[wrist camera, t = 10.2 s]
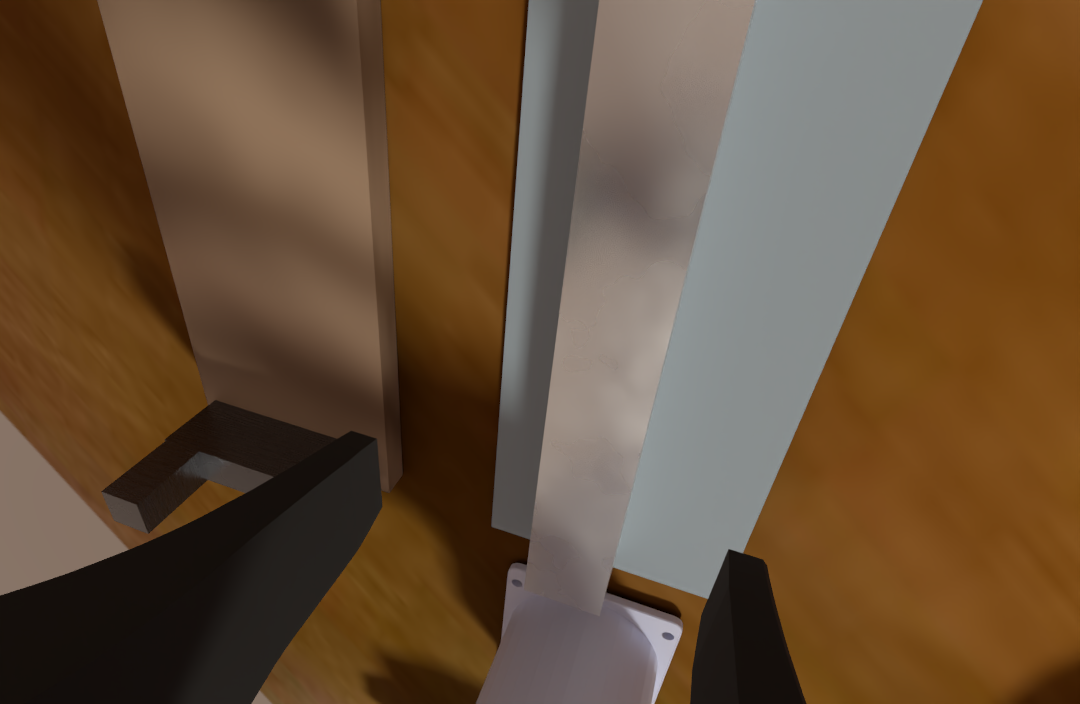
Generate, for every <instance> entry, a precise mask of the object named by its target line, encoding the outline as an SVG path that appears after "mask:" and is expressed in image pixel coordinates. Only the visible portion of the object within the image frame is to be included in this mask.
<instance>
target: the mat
mask: <svg viewBox="0 0 1080 704" xmlns="http://www.w3.org/2000/svg"><path fill="white" fill-rule="evenodd" d="M982 1H983V0H758V1H757V4H756V8H755V12H754V16H753V20H752V24H751V28H750V32H749V36H748V40H747V44H746V48H745V52H744V56H743V59H742V63H741V67H740V71H739V75H738V79H737V83H736V87H735V91H734V95H733V99H732V103H731V107H730V111H729V114H728V118H727V122H726V126H725V130H724V134H723V138H722V142H721V146H720V150H719V154H718V158H717V162H716V165H715V169H714V173H713V177H712V181H711V185H710V189H709V193H708V197H707V201H706V205H705V209H704V213H703V217H702V220H701V224H700V228H699V232H698V236H697V240H696V244H695V248H694V252H693V256H692V260H691V264H690V268H689V272H688V275H687V279H686V283H685V287H684V291H683V295H682V299H681V303H680V307H679V311H678V315H677V319H676V323H675V327H674V330H673V334H672V338H671V342H670V346H669V350H668V354H667V358H666V362H665V366H664V370H663V374H662V378H661V381H660V385H659V389H658V393H657V397H656V401H655V405H654V409H653V413H652V417H651V421H650V425H649V429H648V433H647V436H646V440H645V444H644V448H643V452H642V456H641V460H640V464H639V468H638V472H637V476H636V480H635V484H634V488H633V491H632V495H631V499H630V503H629V507H628V511H627V515H626V519H625V523H624V527H623V531H622V535H621V539H620V543H619V546H618V550H617V554H616V558H615V562H614V565H613V567H614V568H617V569H620V570H623V571H626V572H629V573H632V574H635V575H638V576H641V577H644V578H647V579H650V580H653V581H656V582H659V583H662V584H665V585H668V586H671V587H674V588H677V589H680V590H683V591H686V592H689V593H692V594H695V595H698V596H701V597H704V598H707V599H708V598H709V595H710V593H711V590H712V588H713V586H714V583H715V581H716V578H717V576H718V573H719V571H720V569H721V566H722V564H723V561H724V559H725V556H726V554H727V552H728V549H731V550H734V551H737V552H740V553H743V551H744V549H745V546H746V544H747V542H748V539H749V537H750V535H751V533H752V530H753V528H754V526H755V523H756V521H757V519H758V516H759V514H760V512H761V510H762V507H763V505H764V503H765V500H766V498H767V496H768V493H769V491H770V489H771V487H772V484H773V482H774V480H775V477H776V475H777V473H778V470H779V468H780V466H781V464H782V461H783V459H784V457H785V454H786V452H787V450H788V447H789V445H790V443H791V441H792V438H793V436H794V434H795V431H796V429H797V427H798V424H799V422H800V420H801V418H802V415H803V413H804V411H805V408H806V406H807V404H808V401H809V399H810V397H811V395H812V392H813V390H814V388H815V385H816V383H817V381H818V378H819V376H820V374H821V372H822V369H823V367H824V365H825V362H826V360H827V358H828V355H829V353H830V351H831V349H832V346H833V344H834V342H835V339H836V337H837V335H838V332H839V330H840V328H841V326H842V323H843V321H844V319H845V316H846V314H847V312H848V309H849V307H850V305H851V303H852V300H853V298H854V296H855V293H856V291H857V289H858V286H859V284H860V282H861V280H862V277H863V275H864V273H865V270H866V268H867V266H868V263H869V261H870V259H871V257H872V254H873V252H874V250H875V247H876V245H877V243H878V240H879V238H880V236H881V234H882V231H883V229H884V227H885V224H886V222H887V220H888V217H889V215H890V213H891V211H892V208H893V206H894V204H895V201H896V199H897V197H898V194H899V192H900V190H901V188H902V185H903V183H904V181H905V178H906V176H907V174H908V171H909V169H910V167H911V165H912V162H913V160H914V158H915V155H916V153H917V151H918V148H919V146H920V144H921V142H922V139H923V137H924V135H925V132H926V130H927V128H928V125H929V123H930V121H931V119H932V116H933V114H934V112H935V109H936V107H937V105H938V102H939V100H940V98H941V96H942V93H943V91H944V89H945V86H946V84H947V82H948V79H949V77H950V75H951V73H952V70H953V68H954V66H955V63H956V61H957V59H958V56H959V54H960V52H961V50H962V47H963V45H964V43H965V40H966V38H967V36H968V33H969V31H970V29H971V27H972V24H973V22H974V20H975V17H976V15H977V13H978V10H979V8H980V6H981V4H982ZM598 6H599V0H529V7H528V21H527V35H526V49H525V63H524V77H523V91H522V105H521V119H520V133H519V147H518V161H517V175H516V189H515V203H514V217H513V231H512V245H511V259H510V273H509V287H508V301H507V315H506V329H505V342H504V356H503V370H502V384H501V398H500V412H499V426H498V440H497V454H496V468H495V482H494V496H493V510H492V524H491V527H494V528H497V529H500V530H503V531H506V532H509V533H512V534H515V535H518V536H521V537H524V538H527V539H530V538H531V530H532V522H533V514H534V506H535V499H536V491H537V483H538V475H539V467H540V459H541V452H542V444H543V436H544V428H545V420H546V413H547V405H548V397H549V389H550V381H551V373H552V366H553V358H554V350H555V342H556V334H557V327H558V319H559V311H560V303H561V295H562V287H563V280H564V272H565V264H566V256H567V248H568V241H569V233H570V225H571V217H572V209H573V201H574V194H575V186H576V178H577V170H578V162H579V155H580V147H581V139H582V131H583V123H584V115H585V108H586V100H587V92H588V84H589V76H590V69H591V61H592V53H593V45H594V37H595V29H596V22H597V14H598Z"/></svg>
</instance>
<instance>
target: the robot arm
mask: <svg viewBox="0 0 1080 704" xmlns="http://www.w3.org/2000/svg"><path fill="white" fill-rule="evenodd" d="M381 508H382V496H381V483H380V470H379V457H378V444H377V439H376V438H373V437H370V436H367V435H364V434H360V433H357V432H354V431H350V432H348V433H346V434H345V435H343V436H341V437H340V438H338V439H336V440H335V441H333V442H331V443H330V444H328V445H326V446H325V447H323V448H321V449H320V450H318V451H316V452H315V453H313V454H311V455H310V456H308V457H306V458H305V459H303V460H301V461H300V462H298V463H297V464H295V465H293V466H292V467H290V468H288V469H287V470H285V471H283V472H281V473H280V474H278V475H276V476H275V477H273V478H271V479H269V480H268V481H266V482H264V483H263V484H261V485H259V486H257V487H256V488H254V489H252V490H251V491H249V492H247V493H245V494H243V495H242V496H240V497H238V498H236V499H234V500H232V501H230V502H228V503H227V504H225V505H223V506H221V507H219V508H217V509H215V510H213V511H212V512H210V513H208V514H206V515H204V516H202V517H200V518H198V519H196V520H194V521H192V522H190V523H188V524H186V525H184V526H182V527H180V528H178V529H175V530H173V531H171V532H169V533H167V534H164V535H162V536H160V537H158V538H155V539H153V540H151V541H149V542H147V543H144V544H142V545H140V546H137V547H135V548H133V549H130V550H127V551H125V552H122V553H120V554H117V555H115V556H112V557H110V558H107V559H104V560H102V561H99V562H97V563H94V564H92V565H89V566H86V567H84V568H81V569H79V570H76V571H73V572H70V573H68V574H65V575H62V576H59V577H56V578H53V579H50V580H47V581H45V582H41V583H38V584H35V585H32V586H29V587H26V588H23V589H20V590H16V591H13V592H10V593H8V594H4V595H1V596H0V704H251V703H252V702H253V700H254V698H255V696H256V695H257V693H258V692H259V690H260V688H261V687H262V685H263V683H264V682H265V680H266V679H267V677H268V675H269V674H270V672H271V670H272V669H273V667H274V665H275V664H276V662H277V661H278V659H279V658H280V656H281V655H282V653H283V652H284V650H285V649H286V647H287V646H288V644H289V643H290V642H291V640H292V639H293V637H294V636H295V635H296V633H297V632H298V631H299V629H300V628H301V627H302V625H303V624H304V623H305V621H306V620H307V619H308V617H309V616H310V615H311V613H312V612H313V610H314V609H315V608H316V606H317V605H318V604H319V602H320V601H321V600H322V598H323V597H324V596H325V594H326V593H327V592H328V590H329V589H330V588H331V586H332V585H333V584H334V582H335V581H336V579H337V578H338V577H339V575H340V574H341V573H342V571H343V570H344V568H345V567H346V566H347V564H348V563H349V562H350V560H351V559H352V557H353V556H354V555H355V553H356V552H357V550H358V549H359V547H360V545H361V544H362V542H363V540H364V539H365V537H366V535H367V533H368V532H369V530H370V528H371V526H372V524H373V523H374V521H375V519H376V517H377V515H378V513H379V512H380V510H381ZM526 569H527V565H524V564H522V563H513V564H511V566H510V568H509V571H508V576H507V586H506V595H505V605H504V615H503V625H502V635H501V643H500V646H499V648H498V650H497V653H496V655H495V658H494V660H493V663H492V665H491V668H490V670H489V672H488V675H487V677H486V680H485V682H484V685H483V687H482V690H481V692H480V694H479V697H478V699H477V702H476V704H654V703H655V700H656V698H657V695H658V693H659V690H660V688H661V685H662V683H663V680H664V677H665V675H666V672H667V670H668V667H669V665H670V662H671V660H672V657H673V655H674V652H675V649H676V647H677V644H678V642H679V639H680V637H681V634H682V630H683V623H682V621H681V620H680V619H679V618H678V617H676V616H673V615H670V614H668V613H665V612H662V611H659V610H656V609H653V608H650V607H647V606H644V605H641V604H638V603H635V602H633V601H630V600H627V599H624V598H621V597H618V596H615V595H612V594H609V593H606V594H605V598H604V602H603V605H602V609H601V612H600V616H597V615H594V614H591V613H588V612H585V611H583V610H580V609H577V608H574V607H571V606H568V605H566V604H563V603H560V602H557V601H554V600H551V599H549V598H546V597H543V596H540V595H537V594H534V593H531V592H529V591H526V590H524V585H525V577H526ZM690 704H806V701H805V699H804V696H803V693H802V690H801V687H800V684H799V681H798V678H797V675H796V672H795V669H794V666H793V663H792V660H791V657H790V654H789V650H788V647H787V644H786V641H785V637H784V634H783V630H782V627H781V623H780V619H779V616H778V612H777V608H776V604H775V600H774V596H773V592H772V588H771V583H770V579H769V574H768V568H767V565H766V564H765V562H764V561H763V560H762V559H759V558H756V557H753V556H750V555H746V554H743V553H740V552H737V551H734V550H731V549H728V552H727V554H726V556H725V559H724V561H723V564H722V566H721V569H720V571H719V573H718V576H717V578H716V581H715V583H714V586H713V588H712V590H711V593H710V595H709V598H708V600H707V603H706V605H705V607H704V610H703V612H702V615H701V621H700V627H699V633H698V638H697V644H696V651H695V657H694V663H693V669H692V685H691V701H690Z"/></svg>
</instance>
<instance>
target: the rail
mask: <svg viewBox="0 0 1080 704" xmlns="http://www.w3.org/2000/svg"><path fill="white" fill-rule="evenodd" d="M757 1H758V0H599V6H598V14H597V22H596V29H595V37H594V45H593V53H592V61H591V69H590V76H589V84H588V92H587V100H586V108H585V115H584V123H583V131H582V139H581V147H580V155H579V162H578V170H577V178H576V186H575V194H574V201H573V209H572V217H571V225H570V233H569V241H568V248H567V256H566V264H565V272H564V280H563V287H562V295H561V303H560V311H559V319H558V327H557V334H556V342H555V350H554V358H553V366H552V373H551V381H550V389H549V397H548V405H547V413H546V420H545V428H544V436H543V444H542V452H541V459H540V467H539V475H538V483H537V491H536V499H535V506H534V514H533V522H532V530H531V538H530V545H529V553H528V561H527V569H526V577H525V585H524V590H526V591H529V592H531V593H534V594H537V595H540V596H543V597H546V598H549V599H551V600H554V601H557V602H560V603H563V604H566V605H568V606H571V607H574V608H577V609H580V610H583V611H585V612H588V613H591V614H594V615H597V616H600V612H601V609H602V605H603V602H604V598H605V594H606V591H607V587H608V583H609V580H610V576H611V572H612V569H613V565H614V562H615V558H616V554H617V550H618V546H619V543H620V539H621V535H622V531H623V527H624V523H625V519H626V515H627V511H628V507H629V503H630V499H631V495H632V491H633V488H634V484H635V480H636V476H637V472H638V468H639V464H640V460H641V456H642V452H643V448H644V444H645V440H646V436H647V433H648V429H649V425H650V421H651V417H652V413H653V409H654V405H655V401H656V397H657V393H658V389H659V385H660V381H661V378H662V374H663V370H664V366H665V362H666V358H667V354H668V350H669V346H670V342H671V338H672V334H673V330H674V327H675V323H676V319H677V315H678V311H679V307H680V303H681V299H682V295H683V291H684V287H685V283H686V279H687V275H688V272H689V268H690V264H691V260H692V256H693V252H694V248H695V244H696V240H697V236H698V232H699V228H700V224H701V220H702V217H703V213H704V209H705V205H706V201H707V197H708V193H709V189H710V185H711V181H712V177H713V173H714V169H715V165H716V162H717V158H718V154H719V150H720V146H721V142H722V138H723V134H724V130H725V126H726V122H727V118H728V114H729V111H730V107H731V103H732V99H733V95H734V91H735V87H736V83H737V79H738V75H739V71H740V67H741V63H742V59H743V56H744V52H745V48H746V44H747V40H748V36H749V32H750V28H751V24H752V20H753V16H754V12H755V8H756V4H757Z"/></svg>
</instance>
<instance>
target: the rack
mask: <svg viewBox="0 0 1080 704" xmlns="http://www.w3.org/2000/svg"><path fill="white" fill-rule="evenodd" d="M97 1H98V5H99V9H100V12H101V16H102V20H103V23H104V27H105V31H106V34H107V38H108V41H109V45H110V49H111V52H112V56H113V60H114V63H115V67H116V71H117V74H118V78H119V82H120V85H121V89H122V93H123V96H124V100H125V103H126V107H127V111H128V114H129V118H130V122H131V125H132V129H133V133H134V136H135V140H136V144H137V147H138V151H139V155H140V158H141V162H142V166H143V169H144V173H145V176H146V180H147V184H148V187H149V191H150V195H151V198H152V202H153V206H154V209H155V213H156V217H157V220H158V224H159V228H160V231H161V235H162V239H163V242H164V246H165V249H166V253H167V257H168V260H169V264H170V268H171V271H172V275H173V279H174V282H175V286H176V290H177V293H178V297H179V301H180V304H181V308H182V311H183V315H184V319H185V322H186V326H187V330H188V333H189V337H190V341H191V344H192V348H193V352H194V355H195V359H196V363H197V366H198V370H199V374H200V377H201V381H202V384H203V388H204V392H205V395H206V399H207V403H208V406H207V407H206V408H204V409H203V410H202V411H201V412H199V413H198V414H197V415H195V416H194V417H193V418H192V419H190V420H189V421H188V422H186V423H185V424H184V425H183V426H181V427H180V428H179V429H178V430H176V431H175V432H174V433H172V434H171V435H170V436H169V437H167V438H166V439H165V442H164V443H163V444H161V445H160V446H159V447H157V448H156V449H155V450H154V451H152V452H151V453H150V454H149V455H147V456H146V457H145V458H143V459H142V460H141V461H140V462H138V463H137V464H136V465H135V466H133V467H132V468H131V469H129V470H128V471H127V472H126V473H124V474H123V475H122V476H121V477H119V478H118V479H117V480H115V481H114V482H113V483H112V484H110V485H109V486H108V487H107V488H105V489H104V490H103V491H101V492H102V494H103V496H104V499H105V501H106V503H107V505H108V508H109V510H110V512H111V514H112V517H113V519H114V521H116V522H119V523H122V524H124V525H127V526H129V527H132V528H135V529H137V530H140V531H142V532H145V533H148V534H149V533H150V532H151V531H152V530H153V529H154V528H155V527H156V526H157V525H159V524H160V523H161V522H162V521H163V520H164V519H165V518H166V517H167V516H168V515H169V514H171V513H172V512H173V511H174V510H175V509H176V508H177V507H178V506H179V505H180V504H182V503H183V502H184V501H185V500H186V499H187V498H188V497H189V496H190V495H191V494H193V493H194V492H195V491H196V490H197V489H198V488H199V487H200V486H201V485H202V484H204V483H205V482H206V481H207V480H210V481H213V482H216V483H219V484H222V485H224V486H227V487H230V488H233V489H236V490H239V491H242V492H244V493H247V492H249V491H251V490H252V489H254V488H256V487H257V486H259V485H261V484H263V483H264V482H266V481H268V480H269V479H271V478H273V477H275V476H276V475H278V474H280V473H281V472H283V471H285V470H287V469H288V468H290V467H292V466H293V465H295V464H297V463H298V462H300V461H301V460H303V459H305V458H306V457H308V456H310V455H311V454H313V453H315V452H316V451H318V450H320V449H321V448H323V447H325V446H326V445H328V444H330V443H331V442H333V441H335V440H336V439H338V438H340V437H341V436H343V435H345V434H346V433H348V432H350V431H354V432H357V433H360V434H364V435H367V436H370V437H373V438H376V439H377V444H378V457H379V470H380V483H381V490H382V491H385V492H388V493H390V492H391V490H392V489H393V487H394V486H395V485H396V483H397V482H398V481H399V479H400V478H401V476H402V475H403V466H402V445H401V424H400V403H399V382H398V360H397V339H396V318H395V297H394V276H393V255H392V234H391V213H390V191H389V170H388V149H387V128H386V107H385V86H384V65H383V44H382V23H381V1H380V0H97Z"/></svg>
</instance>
